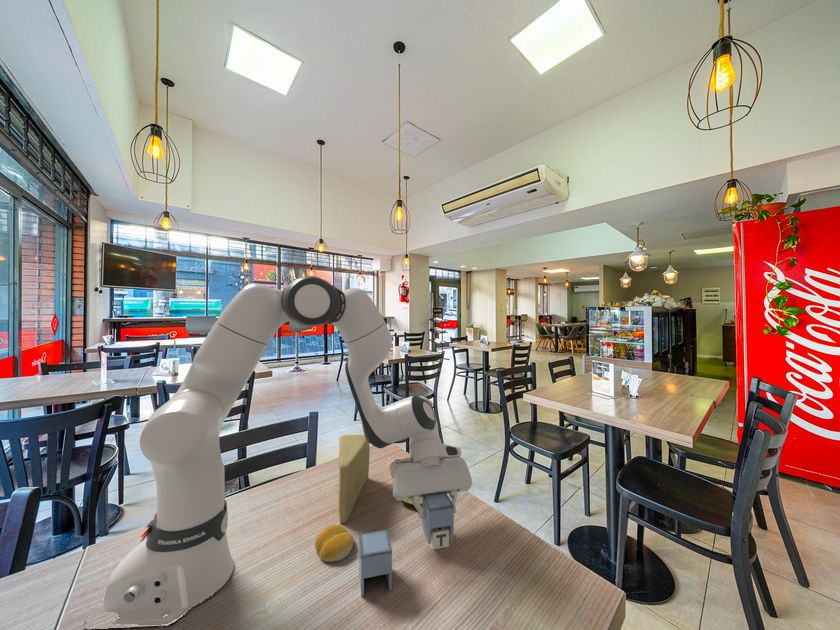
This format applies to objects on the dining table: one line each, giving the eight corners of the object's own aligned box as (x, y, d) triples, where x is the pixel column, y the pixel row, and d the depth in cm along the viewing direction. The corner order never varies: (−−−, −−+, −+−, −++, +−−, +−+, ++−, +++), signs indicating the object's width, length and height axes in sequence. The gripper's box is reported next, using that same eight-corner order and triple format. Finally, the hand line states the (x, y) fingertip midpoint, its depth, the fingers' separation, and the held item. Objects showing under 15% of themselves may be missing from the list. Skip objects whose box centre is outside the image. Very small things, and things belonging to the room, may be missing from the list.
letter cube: (432, 550, 72) (433, 532, 72) (428, 537, 76) (428, 521, 76) (449, 547, 73) (449, 529, 73) (443, 534, 77) (443, 518, 77)
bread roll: (326, 570, 66) (326, 552, 66) (310, 546, 73) (310, 529, 73) (360, 551, 72) (360, 534, 72) (342, 530, 79) (342, 514, 79)
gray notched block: (361, 596, 60) (361, 556, 60) (359, 571, 66) (359, 534, 66) (391, 590, 62) (392, 550, 62) (387, 565, 67) (387, 529, 67)
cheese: (361, 523, 81) (362, 466, 81) (323, 525, 80) (323, 467, 80) (369, 477, 103) (369, 432, 103) (339, 478, 102) (340, 433, 102)
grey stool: (428, 544, 71) (429, 509, 71) (421, 526, 77) (422, 494, 77) (453, 539, 72) (453, 505, 72) (444, 522, 78) (445, 491, 78)
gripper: (390, 455, 78) (397, 519, 69) (465, 447, 84) (481, 506, 74) (387, 464, 83) (393, 525, 73) (459, 456, 88) (473, 512, 79)
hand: (438, 515), depth 74 cm, fingers closed on grey stool, 6 cm apart
